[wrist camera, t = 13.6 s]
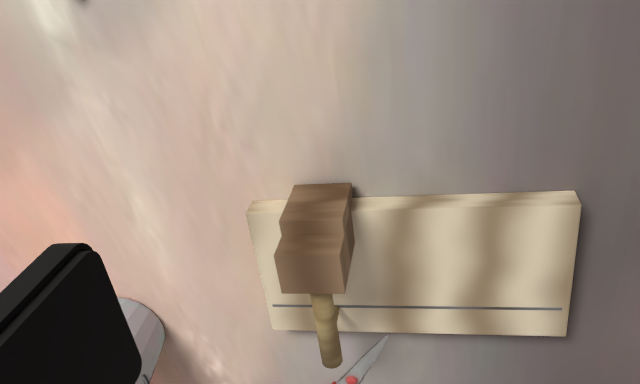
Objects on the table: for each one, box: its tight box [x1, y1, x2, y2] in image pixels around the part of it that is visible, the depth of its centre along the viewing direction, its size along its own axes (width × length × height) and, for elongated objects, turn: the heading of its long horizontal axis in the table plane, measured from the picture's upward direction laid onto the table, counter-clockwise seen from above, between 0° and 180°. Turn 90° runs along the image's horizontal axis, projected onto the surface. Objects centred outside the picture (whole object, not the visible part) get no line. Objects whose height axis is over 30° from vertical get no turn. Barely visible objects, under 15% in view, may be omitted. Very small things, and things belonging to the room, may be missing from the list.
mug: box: [117, 297, 165, 384], centre depth 48 cm, size 10×15×10 cm
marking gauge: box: [274, 183, 355, 368], centre depth 40 cm, size 4×13×8 cm, turn 8°
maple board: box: [246, 191, 581, 336], centre depth 42 cm, size 24×12×2 cm, turn 98°
